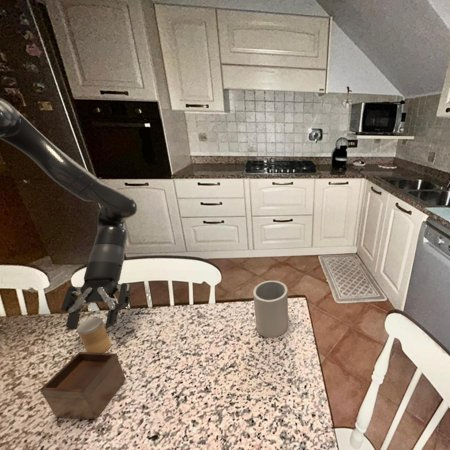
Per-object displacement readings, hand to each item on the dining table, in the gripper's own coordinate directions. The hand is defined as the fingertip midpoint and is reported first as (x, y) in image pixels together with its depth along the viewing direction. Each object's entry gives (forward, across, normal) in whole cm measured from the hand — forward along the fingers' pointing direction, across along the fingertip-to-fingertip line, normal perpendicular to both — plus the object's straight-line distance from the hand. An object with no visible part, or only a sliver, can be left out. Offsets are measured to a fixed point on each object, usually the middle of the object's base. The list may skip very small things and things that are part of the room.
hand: (90, 328), depth 60 cm
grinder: (+5, 0, +5) cm, 7 cm away
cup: (+3, +44, +7) cm, 45 cm away
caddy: (+14, +6, -4) cm, 16 cm away
